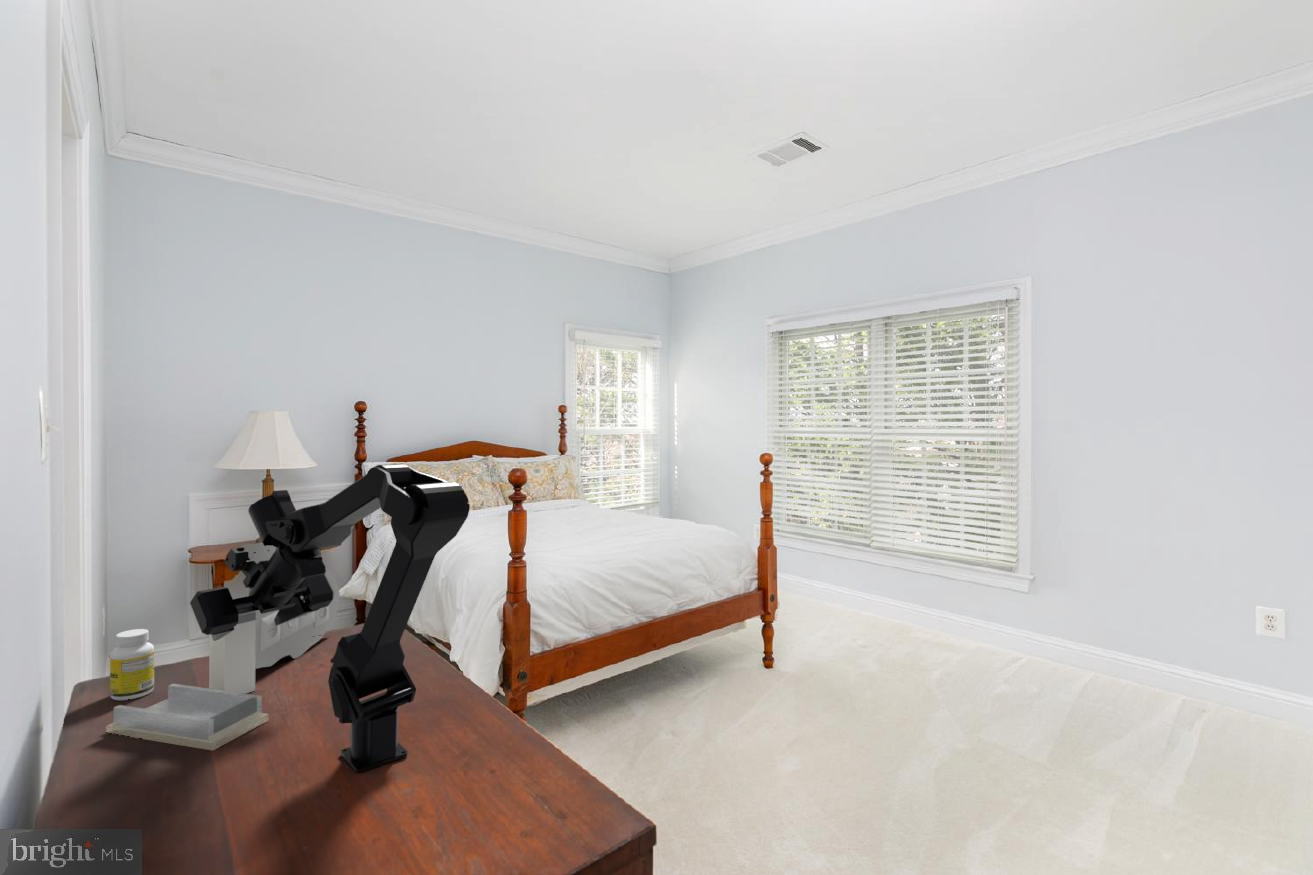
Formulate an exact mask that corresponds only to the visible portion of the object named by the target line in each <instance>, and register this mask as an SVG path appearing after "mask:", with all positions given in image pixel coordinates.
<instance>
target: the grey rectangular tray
mask: <svg viewBox="0 0 1313 875" xmlns="http://www.w3.org/2000/svg"><path fill="white" fill-rule="evenodd" d="M262 697H263V696H262V695H259V694H258V695H257V694H250V693H246V694H245V693H237V692H230V691H223V690H216V689H209V687H202V686H194V685H188V684H187V685H185V684H179V683H171V684H169V685H167V698H166V699H165V700H162V701H159V702H158V703H155V704H153V705H151V706H150V705H149V706H148V707H144V708H143V707H135V706H128V705H123V704H119V705H116V706H114V707H113V716H112V717H113V720H112V721H113V722H112V723H110V724H108V725H106V726H105V733H106V732H108V733H107V734H109V733H112V734H111V735H115V734H119V735H118V736H121V735H125V736H124V737H127V736H130V737H129V738H133V737H134V739H139V738H142V739H141V740H147V741H153V742H159V743H166V744H171V745H176V746H182V747H189V748H195V749H201V750H207V751H216V750H217V749H218V748H220V747H222V746H224V745H226V744H228V743H231V742H232V741H234V740H235V739H237V738H239V737H241V736H243V735H244V734H246V733H248V732H250V731H252V730H253V729H255V728H257V727H259V726H261V725H263V724H265V723H266V722H268V721H269V713H264V712H262V710H263V709H262V706H263V705H262V701H263V699H262ZM113 733H115V734H113ZM120 734H121V735H120Z"/></svg>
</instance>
